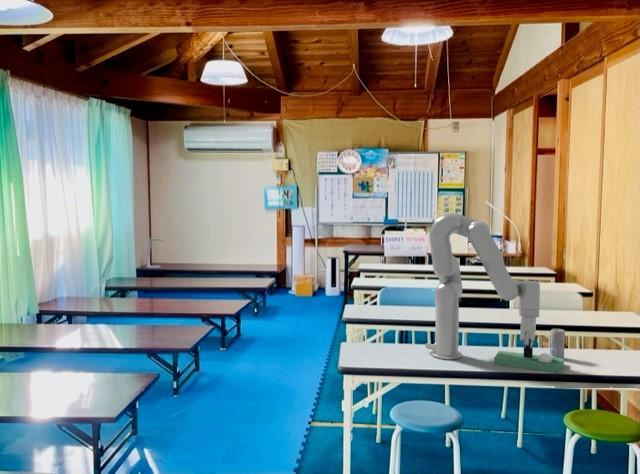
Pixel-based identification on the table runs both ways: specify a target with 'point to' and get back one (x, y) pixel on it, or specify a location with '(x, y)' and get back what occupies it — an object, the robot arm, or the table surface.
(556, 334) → the energy drink
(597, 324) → the table surface
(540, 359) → the ball
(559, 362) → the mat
